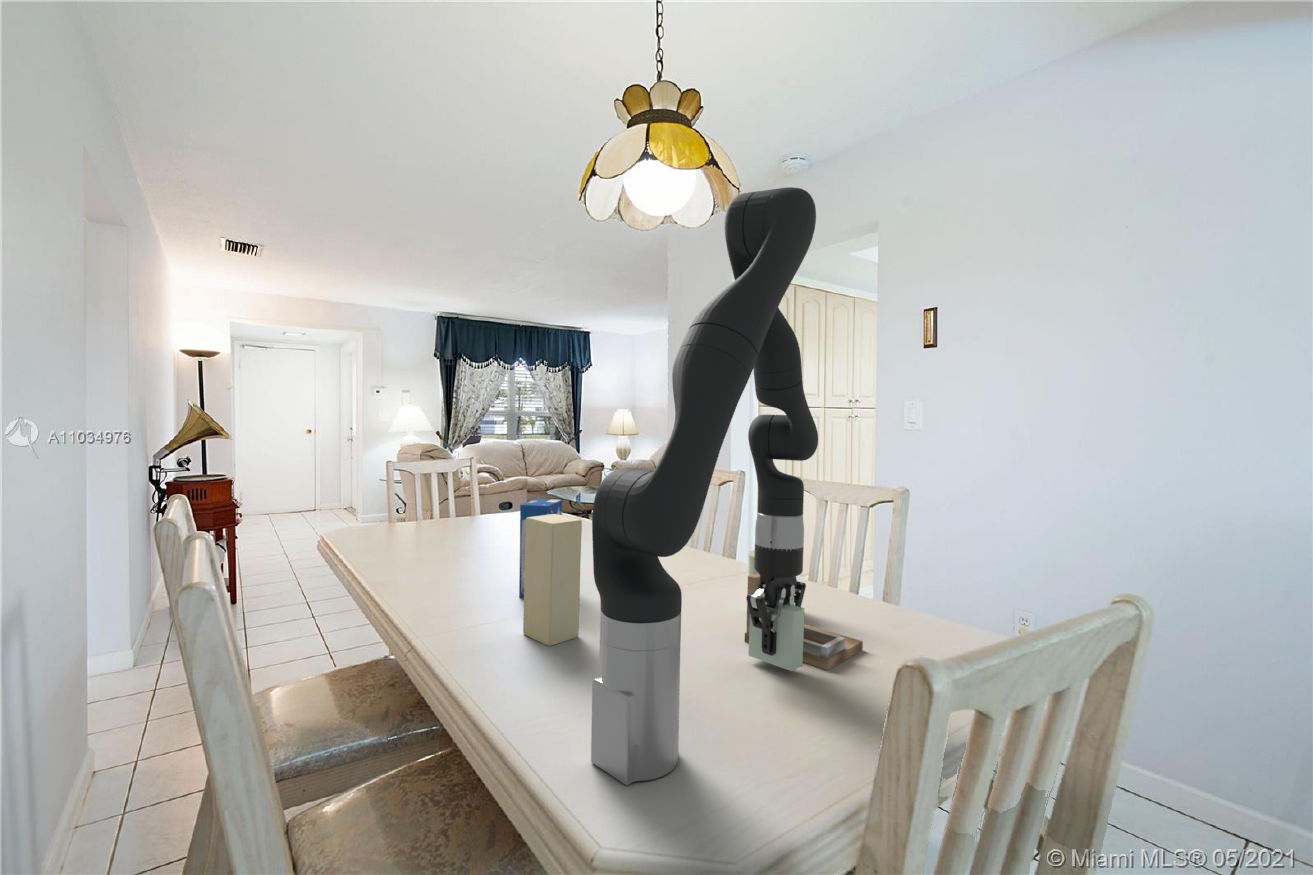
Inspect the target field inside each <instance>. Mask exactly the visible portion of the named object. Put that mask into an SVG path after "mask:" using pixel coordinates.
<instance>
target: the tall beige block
mask: <svg viewBox="0 0 1313 875" xmlns="http://www.w3.org/2000/svg"><path fill="white" fill-rule="evenodd" d="M582 523H583V522H582V519H579V518H574V517H571V516H565V515H563V514H562V515H558V514H550V515H542V516H534V517H527V518H526V534H525V574H524V598H523V623H522V631H523V635H524V636H527V637H529V638H531V639H533V640H535V641H537V642H540V643H541V644H544V645H546V646H549V647H550V646H554V645H558V644H560V643H564V642H566V641H569V640H572V639H576V638H578V637H579V635H580V634H579V632H580V630H579V629H580V598H581V595H580V594H581V593H580V592H581V556H582V532H583V530H582V526H583V524H582Z"/></svg>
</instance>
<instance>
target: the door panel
mask: <svg viewBox="0 0 1313 875" xmlns="http://www.w3.org/2000/svg"><path fill="white" fill-rule="evenodd" d="M766 608H767V609H770V610H773V611H775V609H774V608H770V607H767V606H766ZM768 616H769V621H770V623H771V616H770V615H768ZM759 620H760V618H759ZM804 624H805V608H804V607H802V606H801V607H798V606H795V604H794V605H787V604H786V605H783V607H782V609H781V616H780V617H778V624H777V630H776V632H777V640H776V654H775V655H773V656H771V655H768V654H765V653H763V652H762V630H761V629H760V628H757V627H754V626H753V623H752V619H751V615H750V627H749V643H748V656H749V657H752V658H754V659H757V660H759V661H762V662H765V663H767V664H771V665H774V666H775V667H779V668H782V669H785V670H786V671H787V670H788V671H790V672H793V671H794V672H795V671H796V670H798V669H799V668H801V667H803V663H804V662H803V636H804Z"/></svg>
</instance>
